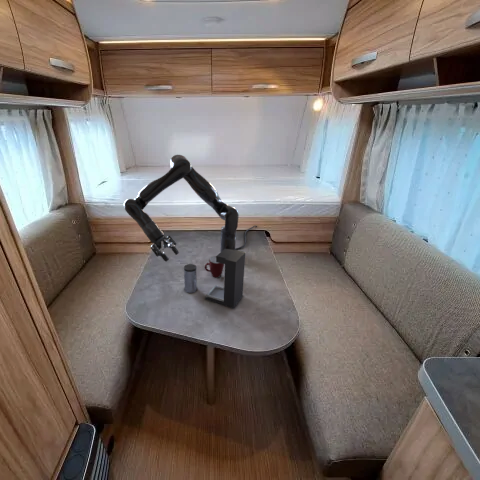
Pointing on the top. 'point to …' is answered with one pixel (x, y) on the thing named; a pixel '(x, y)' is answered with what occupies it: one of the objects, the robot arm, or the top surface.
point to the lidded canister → (190, 278)
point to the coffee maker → (229, 278)
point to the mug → (214, 267)
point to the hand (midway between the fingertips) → (172, 257)
